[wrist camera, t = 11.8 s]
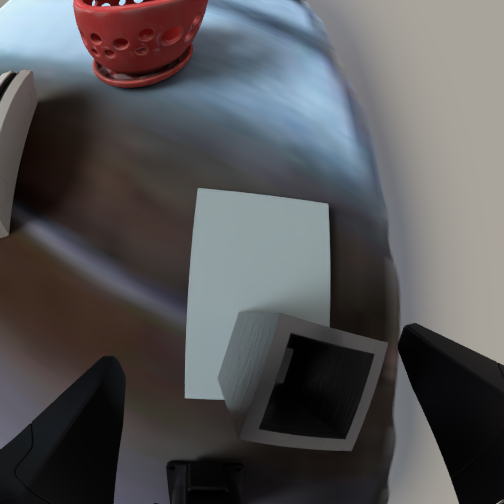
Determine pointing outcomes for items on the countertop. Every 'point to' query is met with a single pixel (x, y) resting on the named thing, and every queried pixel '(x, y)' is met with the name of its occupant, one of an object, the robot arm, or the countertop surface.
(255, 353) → the steel sleeve
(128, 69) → the plant pot
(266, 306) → the base plate
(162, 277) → the countertop surface
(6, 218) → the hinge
